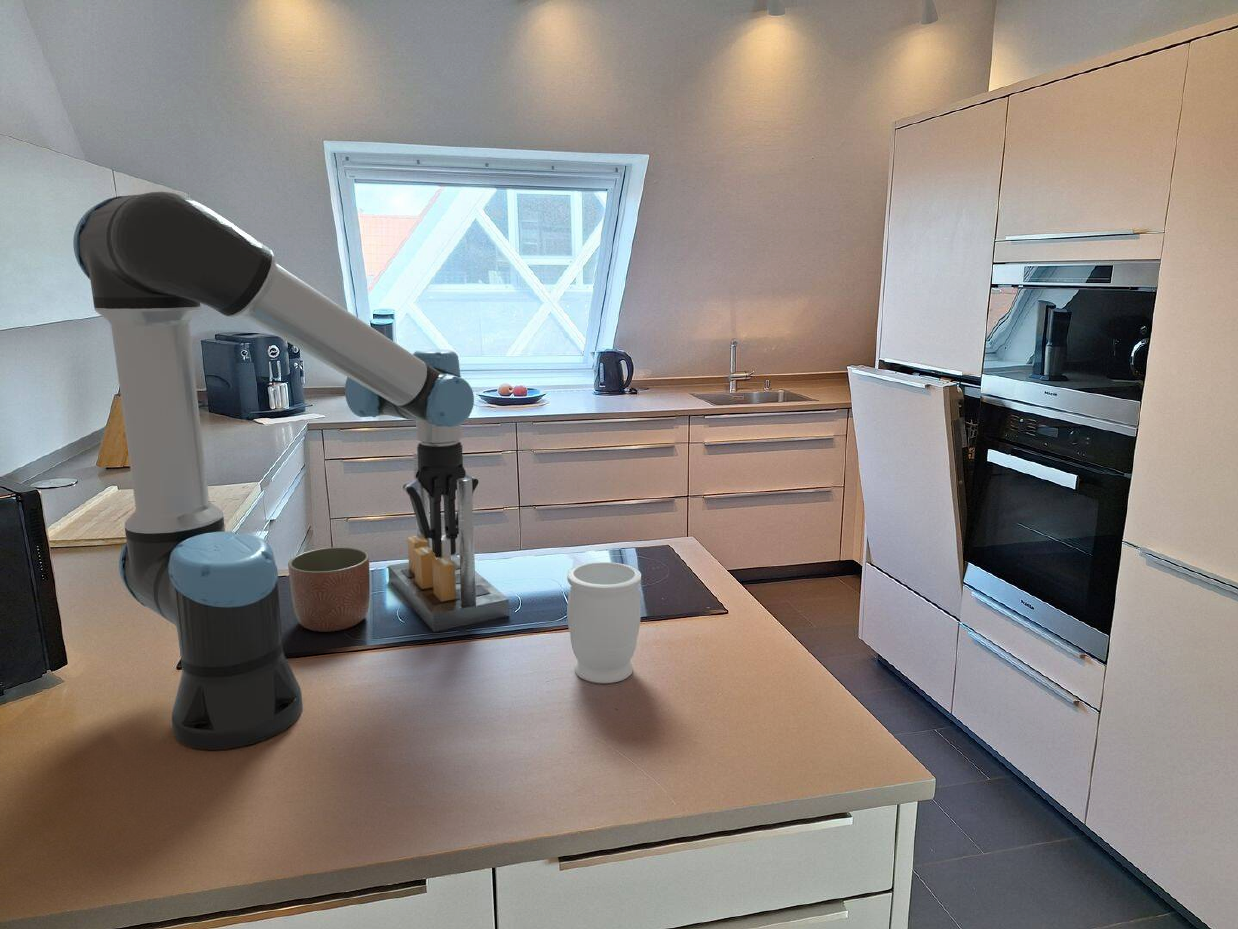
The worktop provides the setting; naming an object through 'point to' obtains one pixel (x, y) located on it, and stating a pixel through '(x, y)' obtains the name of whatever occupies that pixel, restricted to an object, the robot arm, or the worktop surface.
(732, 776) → the worktop surface
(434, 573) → the slotted wooden block
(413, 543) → the tan wooden block
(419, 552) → the tan upright block
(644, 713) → the worktop surface
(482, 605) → the peg stand with blocks
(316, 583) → the planter
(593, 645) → the jar
